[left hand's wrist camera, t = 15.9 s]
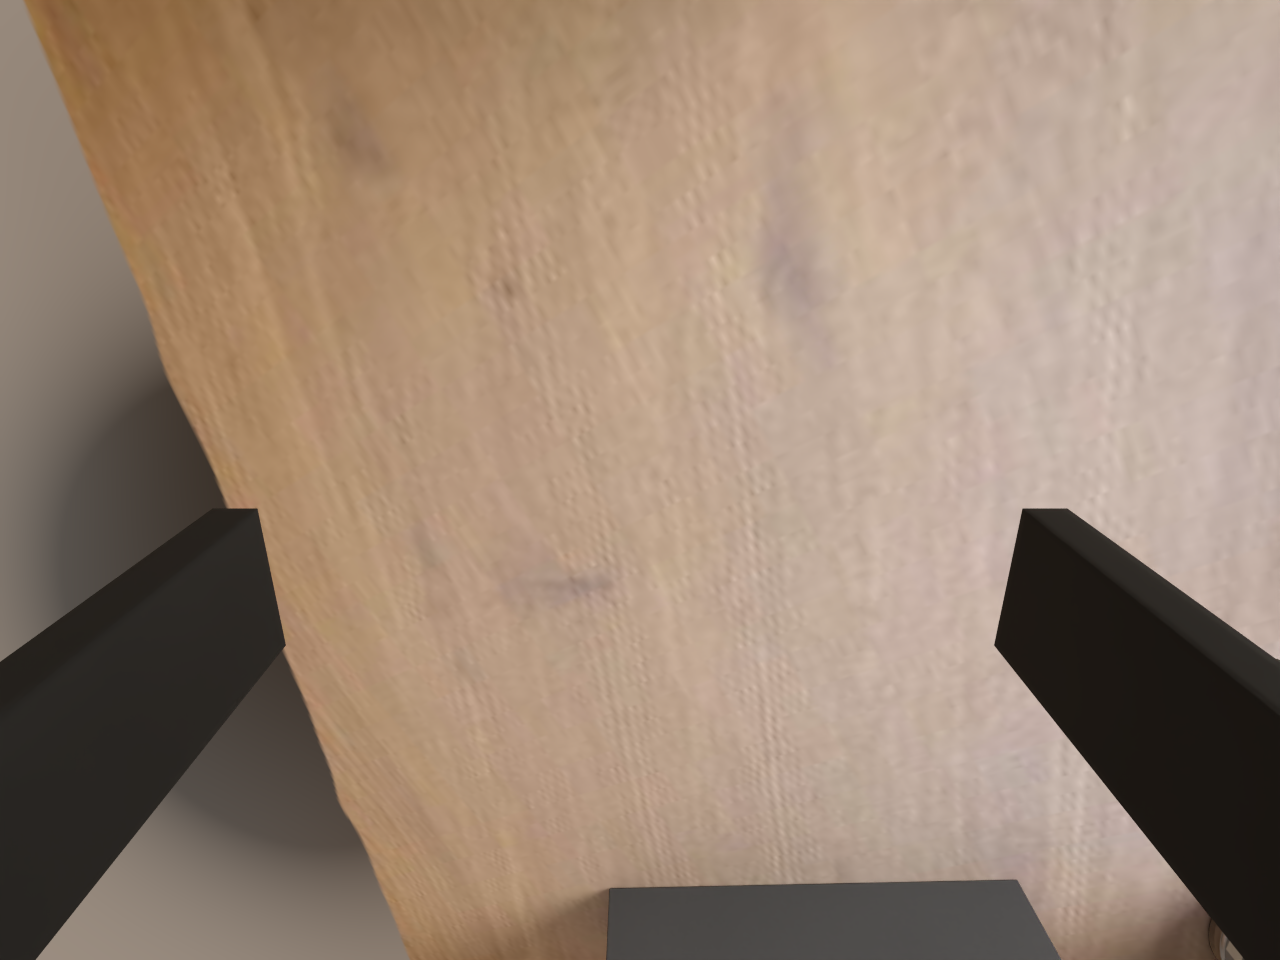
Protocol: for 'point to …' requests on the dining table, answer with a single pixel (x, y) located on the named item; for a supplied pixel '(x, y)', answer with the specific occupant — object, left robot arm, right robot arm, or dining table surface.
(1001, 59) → the dining table surface
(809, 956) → the bar
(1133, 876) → the dining table surface
